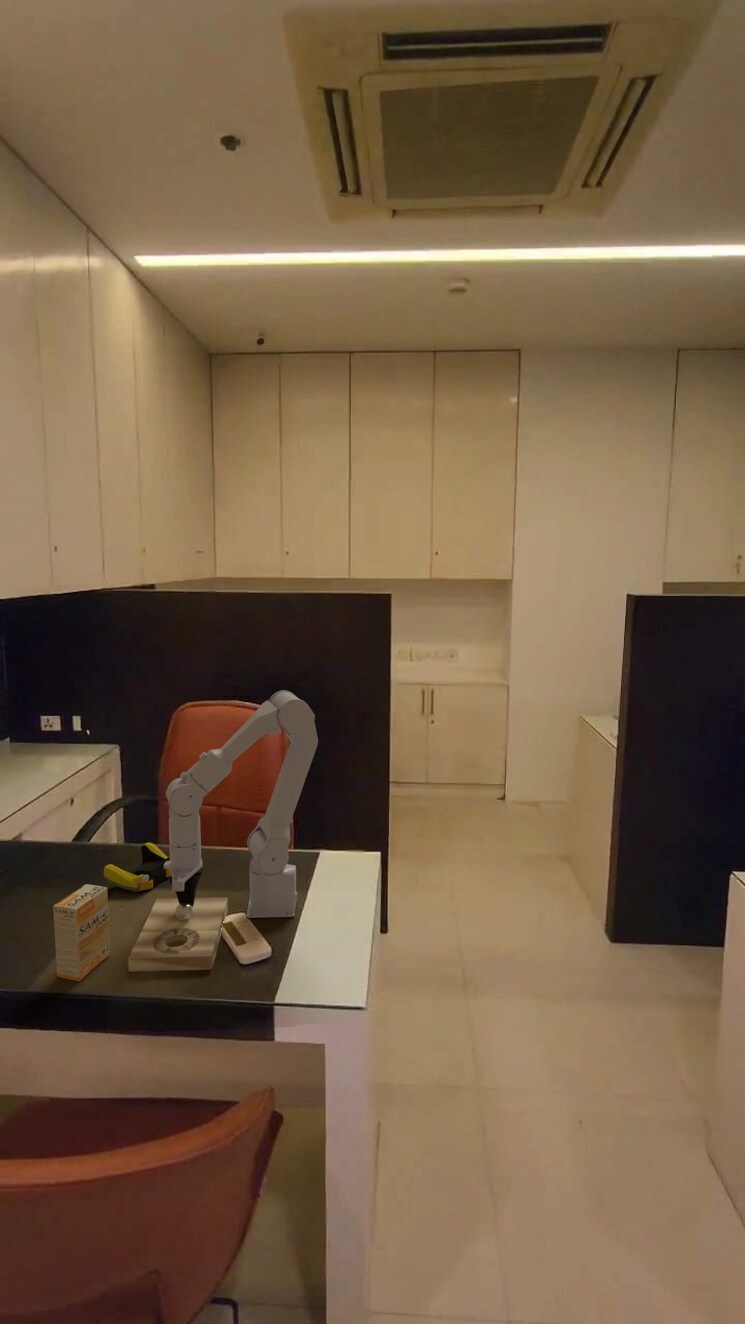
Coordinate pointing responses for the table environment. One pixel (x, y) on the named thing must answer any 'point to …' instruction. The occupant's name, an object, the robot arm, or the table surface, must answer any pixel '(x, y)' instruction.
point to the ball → (184, 911)
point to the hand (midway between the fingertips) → (187, 908)
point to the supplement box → (81, 931)
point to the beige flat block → (179, 937)
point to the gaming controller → (140, 871)
